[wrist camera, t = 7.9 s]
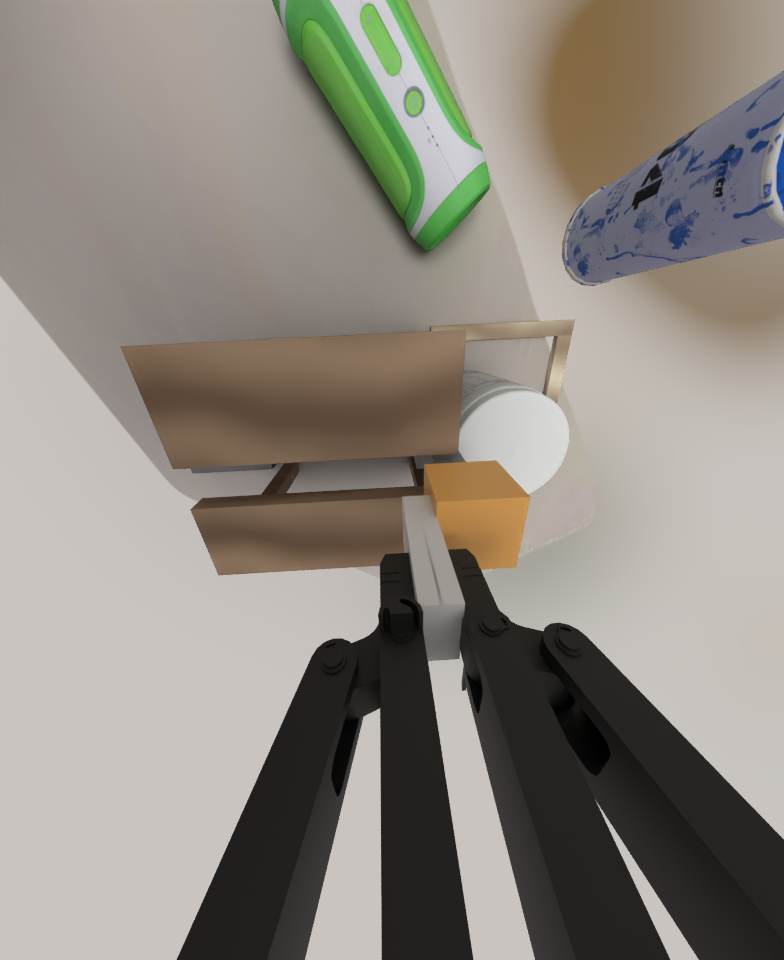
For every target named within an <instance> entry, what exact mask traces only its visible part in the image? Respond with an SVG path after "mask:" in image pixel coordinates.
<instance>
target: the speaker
mask: <svg viewBox="0 0 784 960" xmlns="http://www.w3.org/2000/svg"><path fill="white" fill-rule="evenodd" d="M272 1H273V4H274V7H275V9H276V12H277V15H278V17H279V20H280V22H281V24H282V27H283V29H284V31H285V33H286V35H287V38H288V40H289V42H290V44H291V46H292V48H293V50H294V52H295V53H296V55H297V56H298V57H299V58H300V59H301V60H302V61H303V62H304V63H306V66H307V68H308V70H309V72H310V73H311V75H312V77H313V78H314V80H315V81H316V83H317V85H318V86H319V88H320V89H321V91H322V92H323V94H324V96H325V97H326V99H327V100H328V102H329V104H330V105H331V107H332V108H333V110H334V111H335V113H336V115H337V116H338V118H339V119H340V121H341V123H342V124H343V126H344V127H345V129H346V131H347V132H348V134H349V135H350V137H351V139H352V140H353V142H354V143H355V145H356V147H357V148H358V150H359V151H360V153H361V154H362V156H363V158H364V159H365V161H366V162H367V164H368V166H369V167H370V169H371V170H372V172H373V174H374V175H375V177H376V178H377V180H378V182H379V183H380V185H381V186H382V188H383V190H384V191H385V193H386V194H387V196H388V198H389V199H390V201H391V202H392V204H393V206H394V207H395V209H396V211H397V212H398V214H399V215H400V217H401V218H403V219H404V220H405V223H406V227H407V231H408V233H409V234H410V235H411V236H412V237H413V239H414V240H415V241H416V242H417V243H419V244H420V245H421V246H422V247H423V248H424V249H425V250H427V251H430V250H432V249H433V248H434V247H435V246H437V245H438V244H439V243H440V242H441V241H442V240H443V239H444V238H445V237H446V236H447V235H448V234H449V233H450V232H451V231H452V230H453V229H454V228H455V227H456V226H457V225H458V224H459V223H460V222H461V221H462V220H463V219H464V218H465V217H466V216H467V214H468V213H469V212H470V211H471V210H472V209H473V208H474V207H475V206H476V205H477V203H478V202H479V201H480V200H481V199H482V197H483V196H484V195H485V194H486V192H487V191H488V190H489V188H490V178H489V173H488V168H487V164H486V160H485V157H484V153H483V150H482V147H481V146H480V145H479V144H478V143H476V142H475V141H474V140H473V139H472V135H471V131H470V129H469V127H468V125H467V123H466V121H465V118H464V116H463V114H462V112H461V110H460V108H459V106H458V104H457V102H456V100H455V98H454V96H453V94H452V92H451V90H450V88H449V86H448V84H447V82H446V79H445V77H444V75H443V73H442V71H441V69H440V67H439V65H438V63H437V61H436V59H435V57H434V55H433V53H432V51H431V49H430V47H429V45H428V43H427V41H426V39H425V37H424V35H423V32H422V30H421V28H420V26H419V24H418V22H417V20H416V18H415V16H414V14H413V12H412V10H411V8H410V6H409V4H408V2H407V0H272Z"/></svg>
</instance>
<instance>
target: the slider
mask: <svg viewBox="0 0 784 960" xmlns="http://www.w3.org/2000/svg"><path fill="white" fill-rule="evenodd" d="M414 460H415V463H416V467H417V469H423V468H424V495H430V498H431V502H432V505H433V508H434V511H435V514H436V518H437V519H438V522H439V525H440V528H441V531H442V534H443V537H444V540H445V543H446V546H447V549H448V550H449V549H467V550H469V551H470V552H471V553H472V554H473V555H474V556H475V558H476V560H477V562H478V565H479V568H480V569H496V568H513V567H516V565H517V560H518V555H519V550H520V545H521V540H522V535H523V530H524V525H525V520H526V515H527V510H528V506H529V501H530V496H529V495H528V494H527V493H526V492H525V491H524V490H523V488H522V487H521V486H520V485H519V484H518V483H517V482H516V481H515V480H514V479H513V478H512V477H511V476H510V474H509V473H508V472H507V471H506V470H505V469H504V468H503V467H502V466H501V465H500V464H499V463H498V462H497V460H493V461H475V462H466V461H465V460H464V458H463V457H462V455H461V454H460V452H459V451H458V454H440V455H422V456H414Z"/></svg>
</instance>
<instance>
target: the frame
mask: <svg viewBox="0 0 784 960" xmlns="http://www.w3.org/2000/svg"><path fill="white" fill-rule="evenodd" d="M574 321H575V320H557V321H536V322H515V323H495V324H475V325H454V326H434V327H430V331H446V330H466V340H485V339H505V338H525V337H545V336H554V339H553V345H552V350H551V355H550V360H549V365H548V371H547V376H546V381H545V387H544V392H543V394H544V395H545V396H547V397H549V398H550V399H552V400H553V401H554V402H555V403H556V404H557V401H558V396H559V391H560V387H561V382H562V377H563V373H564V368H565V363H566V359H567V354H568V349H569V345H570V340H571V335H572V330H573V326H574Z"/></svg>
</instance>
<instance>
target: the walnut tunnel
mask: <svg viewBox="0 0 784 960" xmlns="http://www.w3.org/2000/svg"><path fill="white" fill-rule="evenodd" d="M465 342H466V330H446V331H425V332H405V333H385V334H364V335H344V336H324V337H303V338H283V339H263V340H242V341H222V342H202V343H182V344H161V345H141V346H121V349H122V351H123V354H124V356H125V358H126V361H127V363H128V365H129V368H130V370H131V372H132V375H133V377H134V379H135V382H136V384H137V386H138V389H139V391H140V393H141V396H142V398H143V400H144V403H145V405H146V407H147V410H148V412H149V414H150V417H151V419H152V421H153V423H154V426H155V428H156V430H157V433H158V435H159V437H160V440H161V442H162V444H163V447H164V449H165V451H166V454H167V456H168V458H169V461H170V463H171V465H172V468H173V469H186V468H204V467H222V466H241V465H259V464H277V463H284V465H283V466H282V467H281V469H280V470H279V471H278V473H277V474H276V475H275V477H274V478H273V479H272V481H271V482H270V483H269V485H268V486H267V488H266V489H265V490H264V492H263V493H262V494H261V495H251V496H233V497H216V498H202V499H201V500H200V501H199V502H198V503H197V504H196V505H195V506H194V507H193V508H192V509H191V512H192V514H193V516H194V519H195V521H196V524H197V526H198V528H199V531H200V533H201V535H202V538H203V540H204V542H205V545H206V547H207V549H208V552H209V554H210V556H211V559H212V561H213V563H214V566H215V568H216V570H217V573H218V575H230V574H247V573H264V572H279V571H297V570H314V569H330V568H347V567H364V566H380V562H381V561H382V559H383V557H384V555H385V554H395V553H405V551H404V543H403V517H402V497H404V496H422V495H424V468H423V469H417V467H416V463H415V460H414V456H422V455H440V454H458V449H459V434H460V418H461V403H462V388H463V372H464V357H465ZM404 456H410V468H411V473H412V477H413V481H414V486H410V487H393V488H375V489H357V490H340V491H322V492H304V493H287V491H288V489H289V488H290V486H291V484H292V483H293V481H294V479H295V477H296V476H297V474H298V472H299V470H298V466H297V462H313V461H331V460H350V459H368V458H386V457H404ZM286 493H287V494H286Z"/></svg>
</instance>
